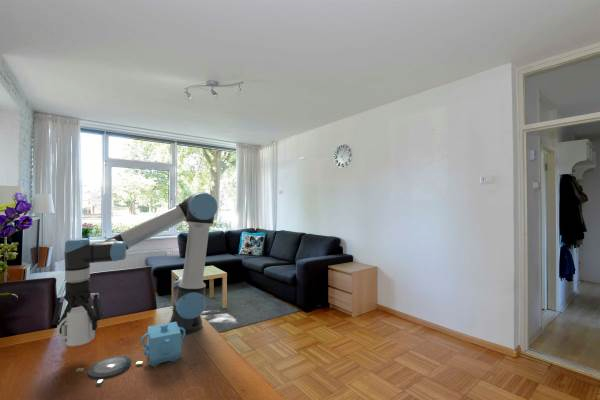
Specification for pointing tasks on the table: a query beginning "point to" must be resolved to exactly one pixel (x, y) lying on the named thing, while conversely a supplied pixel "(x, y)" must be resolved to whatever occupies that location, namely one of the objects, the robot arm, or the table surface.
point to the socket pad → (109, 367)
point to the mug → (76, 327)
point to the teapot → (163, 343)
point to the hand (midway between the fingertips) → (78, 340)
